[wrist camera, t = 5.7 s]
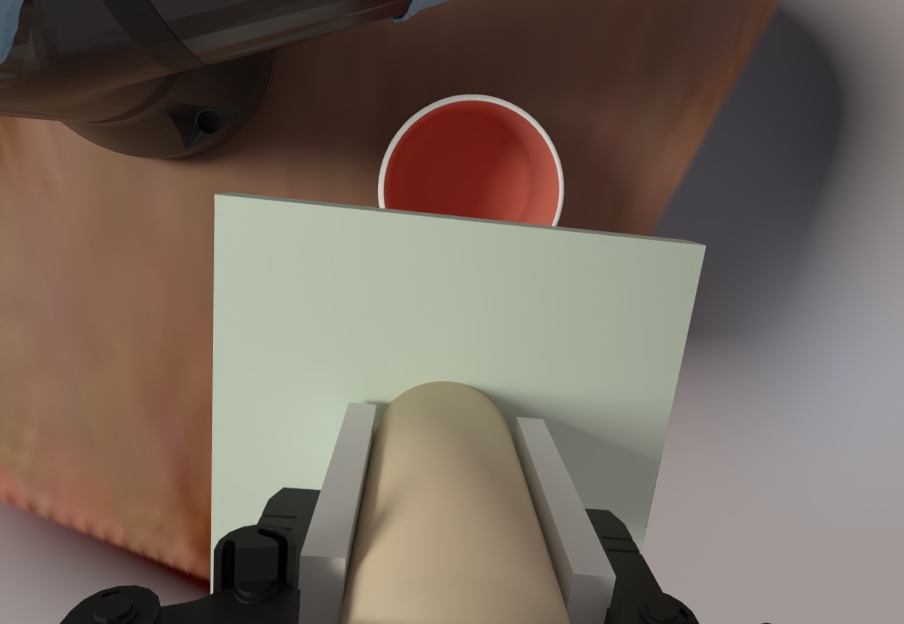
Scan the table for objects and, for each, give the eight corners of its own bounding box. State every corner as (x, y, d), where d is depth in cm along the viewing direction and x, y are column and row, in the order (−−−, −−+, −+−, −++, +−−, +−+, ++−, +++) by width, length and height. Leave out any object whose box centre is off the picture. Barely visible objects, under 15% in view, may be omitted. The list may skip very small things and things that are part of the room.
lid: (223, 594, 19) (49, 965, 10) (230, 192, 16) (-11, 226, 7) (610, 617, 20) (757, 977, 11) (687, 239, 17) (973, 323, 8)
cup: (361, 155, 40) (341, 155, 31) (489, 81, 39) (511, 56, 30) (433, 280, 43) (436, 316, 33) (555, 212, 42) (595, 229, 32)
